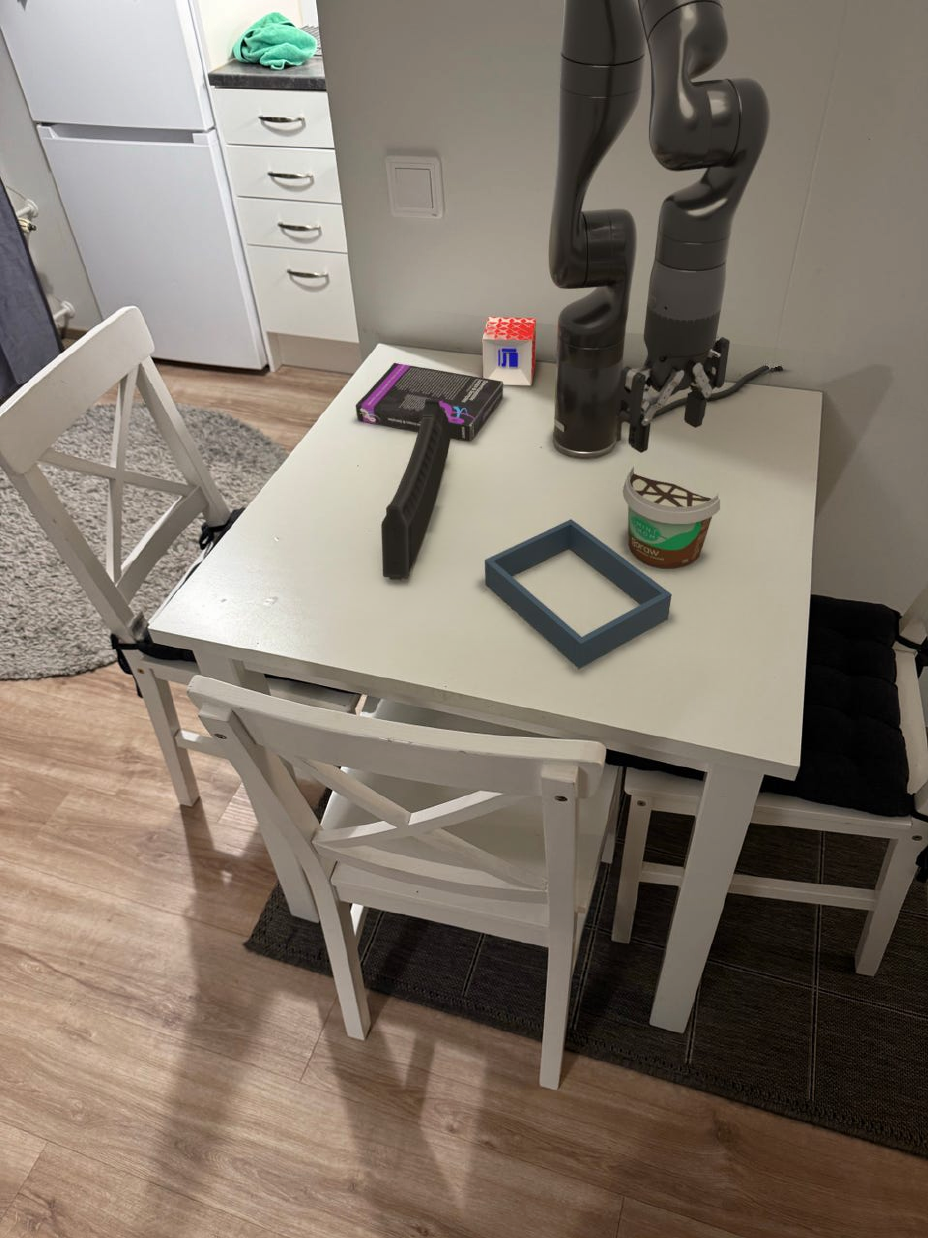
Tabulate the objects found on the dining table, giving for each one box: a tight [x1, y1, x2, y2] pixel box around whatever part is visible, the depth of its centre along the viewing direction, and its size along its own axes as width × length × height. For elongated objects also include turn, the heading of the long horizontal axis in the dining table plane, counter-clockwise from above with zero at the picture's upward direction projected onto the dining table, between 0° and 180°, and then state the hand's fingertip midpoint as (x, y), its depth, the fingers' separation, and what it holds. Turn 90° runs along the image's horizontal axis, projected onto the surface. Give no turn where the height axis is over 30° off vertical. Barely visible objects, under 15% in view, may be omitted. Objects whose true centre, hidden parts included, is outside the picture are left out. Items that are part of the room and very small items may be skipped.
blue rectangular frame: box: [484, 518, 673, 669], centre depth 109 cm, size 14×18×4 cm
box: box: [354, 362, 504, 443], centre depth 143 cm, size 14×4×20 cm
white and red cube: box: [481, 316, 537, 386], centre depth 150 cm, size 8×8×8 cm
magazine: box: [380, 399, 452, 581], centre depth 120 cm, size 17×3×30 cm
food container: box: [622, 466, 721, 570], centre depth 112 cm, size 12×6×10 cm, turn 56°
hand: (665, 436), depth 105 cm, fingers open, 8 cm apart
